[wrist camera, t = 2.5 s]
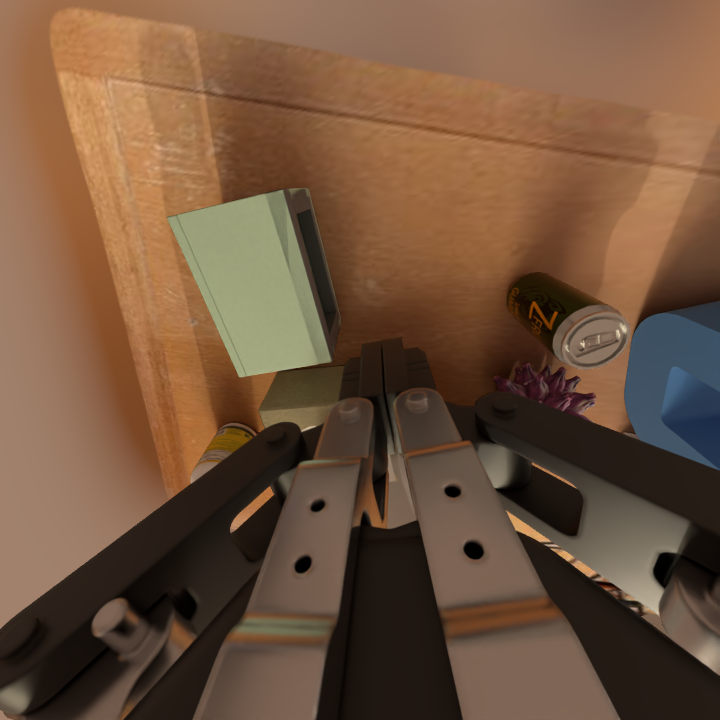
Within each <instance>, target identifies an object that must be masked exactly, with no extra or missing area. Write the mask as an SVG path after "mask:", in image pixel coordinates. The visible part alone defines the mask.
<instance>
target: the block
mask: <svg viewBox="0 0 720 720" xmlns="http://www.w3.org/2000/svg"><path fill="white" fill-rule="evenodd" d="M624 398H625V406H626V410H627V414H628V417H629V420H630V422H631V424H632V427H633V428H634V430H635V432H636V434H637V436H638V437H639V439H640V440H641V441H643V442H646V443H648V444H651V445H654V446H656V447H659V448H662V449H664V450H667V451H670V452H672V453H675V454H677V455H680V456H683V457H685V458H688V459H691V460H693V461H696V462H699V463H701V464H704V465H707V466H709V467H712V468H714V469H717V470H720V301H716V302H711V303H707V304H702V305H697V306H692V307H688V308H683V309H678V310H674V311H669V312H664V313H660V314H655V315H652V316H650V317H648V318H646V319H645V320H644V321H642V322H641V323H640V325H639V326H638V327H637V329H636V331H635V333H634V335H633V338H632V342H631V349H630V356H629V362H628V369H627V376H626V383H625V391H624Z"/></svg>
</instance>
